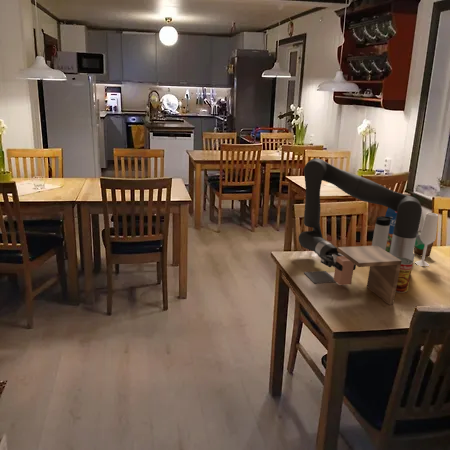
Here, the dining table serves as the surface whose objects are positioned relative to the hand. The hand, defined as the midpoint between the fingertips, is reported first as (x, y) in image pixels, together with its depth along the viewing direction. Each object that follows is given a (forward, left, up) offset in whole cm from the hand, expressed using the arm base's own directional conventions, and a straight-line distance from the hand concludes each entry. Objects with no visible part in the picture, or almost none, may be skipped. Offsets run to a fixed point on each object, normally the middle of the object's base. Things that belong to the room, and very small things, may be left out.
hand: (348, 268), depth 175 cm
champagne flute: (-50, -19, -9) cm, 54 cm away
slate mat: (+5, -12, -9) cm, 15 cm away
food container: (-58, -32, -9) cm, 67 cm away
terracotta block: (0, -3, -7) cm, 7 cm away
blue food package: (-46, -35, -9) cm, 58 cm away
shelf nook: (-3, +7, -9) cm, 12 cm away
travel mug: (-33, -29, -9) cm, 45 cm away
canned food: (-22, +2, -9) cm, 24 cm away
